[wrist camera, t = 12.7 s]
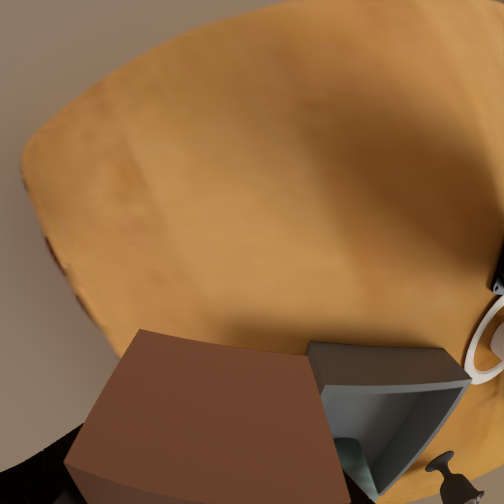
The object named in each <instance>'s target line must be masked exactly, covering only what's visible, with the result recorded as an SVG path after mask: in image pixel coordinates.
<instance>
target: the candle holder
mask: <svg viewBox="0 0 504 504" xmlns="http://www.w3.org/2000/svg"><path fill="white" fill-rule="evenodd" d="M502 306H504V295H502V296H501V297H500V298H499V299H498V300H497V301H496V302H495V304H494V305H493V306H492V307H491V309H490V310H489V311H488V313H487V314H486V315H485V317H484V318H483V320H482V322H481V323H480V325H479V327H478V329H477V330H476V332H475V334H474V336H473V338H472V341H471V343H470V346H469V348H468V351H467V355H466V359H465V365H464V370H465V371H466V372H467V373H468V374H469V375H470V377H471V378H472V379H473V380H472V381H471V383H472V384H475V385H477V384H481V383H484V382H486V381H489V380H490V379H492V378H494V377H495V376H496V375H498V374H499V373H500V372H501V371H502V370H503V369H504V321H503V322H502V323H501V324H500V326H499V327H498V328H497V330H496V331H495V333H494V335H493V337H492V340H491V345H490V347H491V351H492V352H493V353H494V354H495V355H496V356H497V357H498V358H499V359H501V360H502V361H501V362H500V363H499V364H497V365H496V366H495V367H493V368H492V369H490V370H487V371H483V372H481V371H478V370H476V368H475V367H474V363H473V357H474V352H475V349H476V346H477V343H478V341H479V339H480V337H481V335H482V333H483V331H484V329H485V328H486V326H487V325H488V323H489V322H490V320H491V319H492V317H493V316H494V315H495V314H496V313H497V311H498V310H499V309H500V308H501V307H502Z"/></svg>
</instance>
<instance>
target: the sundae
mask: <svg viewBox="0 0 504 504" xmlns="http://www.w3.org/2000/svg"><path fill="white" fill-rule="evenodd" d="M453 455H454V452H453V451H449V452H446V453H444V454H442V455H440V456H439V457H437V458H436V459H434V460H433V461H432V462H431V463H430V464H429V465H428V466H427V468H426V471H427V472H432V471H434V470H439V471H440V472H441V473H442V475H443V477H444V481H443V483H442V485H441V488H440V494H441V498H442V501H443V504H478V503H479V501H480V499H481V497H482V496H483V495H484V491H477V490H476V489H475V488H474V487H473V486H472V484H471V483H470V482H469V481H468V479H467V478H466V477H465V476H464V475H463V474H452V473H451V472H450V470H449V468H448V461H449V460H450V459H451V458H452V457H453Z"/></svg>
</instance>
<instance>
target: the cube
mask: <svg viewBox="0 0 504 504" xmlns="http://www.w3.org/2000/svg"><path fill="white" fill-rule="evenodd" d="M64 464H65V466H66V468H67V470H68V472H69V473H70V475H71V477H72V479H73V480H74V482H75V484H76V486H77V487H78V489H79V491H80V492H81V494H82V495H83V497H84V499H85V500H86V502H87V503H88V504H350V503H351V499H350V496H349V492H348V489H347V485H346V482H345V478H344V475H343V471H342V468H341V464H340V461H339V457H338V454H337V451H336V447H335V444H334V440H333V437H332V434H331V430H330V427H329V424H328V420H327V417H326V414H325V410H324V407H323V404H322V401H321V397H320V394H319V391H318V388H317V384H316V381H315V378H314V375H313V372H312V368H311V365H310V362H309V359H308V356H302V355H292V354H283V353H274V352H266V351H258V350H251V349H243V348H237V347H230V346H224V345H218V344H212V343H206V342H200V341H195V340H189V339H184V338H179V337H174V336H169V335H164V334H160V333H155V332H151V331H146V330H142V329H139V331H138V332H137V334H136V335H135V337H134V339H133V340H132V342H131V343H130V345H129V347H128V348H127V350H126V352H125V353H124V355H123V357H122V358H121V360H120V362H119V363H118V365H117V367H116V368H115V370H114V372H113V373H112V375H111V377H110V379H109V380H108V382H107V384H106V385H105V387H104V389H103V390H102V392H101V394H100V396H99V397H98V399H97V401H96V403H95V404H94V406H93V408H92V410H91V411H90V413H89V415H88V417H87V419H86V420H85V422H84V424H83V426H82V428H81V430H80V431H79V433H78V435H77V437H76V439H75V441H74V443H73V445H72V447H71V448H70V450H69V452H68V454H67V456H66V458H65V460H64Z"/></svg>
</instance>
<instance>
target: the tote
mask: <svg viewBox="0 0 504 504" xmlns="http://www.w3.org/2000/svg"><path fill="white" fill-rule="evenodd" d="M305 356H308V359H309V362H310V365H311V368H312V372H313V375H314V378H315V381H316V384H317V388H318V391H319V394H320V397H321V401H322V404H323V407H324V410H325V414H326V417H327V420H328V424H329V427H330V430H331V434H332V437H333V440H334V439H338V438H354V439H356V440H357V441H358V442H359V443H360V446H361V449H362V451H363V454H364V457H365V460H366V462H367V465H368V468H369V471H370V474H371V476H372V479H373V482H374V485H375V488H376V491H377V494H378V496H381V495H383V494H384V493H385V492H386V491H387V490H388V489H389V488H390V487H391V486H392V485H393V484H394V483H395V482H396V481H397V480H398V479H399V478H400V477H401V476H402V475H403V474H404V473H405V472H406V471H407V469H408V468H409V467H410V466H411V465H412V464H413V463H414V462H415V460H416V459H417V458H418V457H419V456H420V454H421V453H422V452H423V451H424V450H425V448H426V447H427V446H428V445H429V443H430V442H431V441H432V439H433V438H434V437H435V436H436V434H437V433H438V432H439V430H440V429H441V427H442V426H443V425H444V423H445V422H446V420H447V419H448V418H449V416H450V415H451V413H452V412H453V410H454V409H455V407H456V406H457V404H458V403H459V401H460V399H461V398H462V396H463V395H464V393H465V391H466V390H467V388H468V386H469V385H470V383H471V381H472V380H473V379H472V378H471V377H470V375H469V374H468V373H467V372H466V371H465V370H464V369H463V368H462V367H461V366H460V365H459V364H458V363H457V362H456V361H455V360H454V358H453V357H452V356H451V355H450V354H449V353H448V352H447V351H446V350H445V349H426V348H394V347H375V346H359V345H346V344H334V343H324V342H314V341H310V342H309V345H308V349H307V352H306V355H305Z"/></svg>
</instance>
